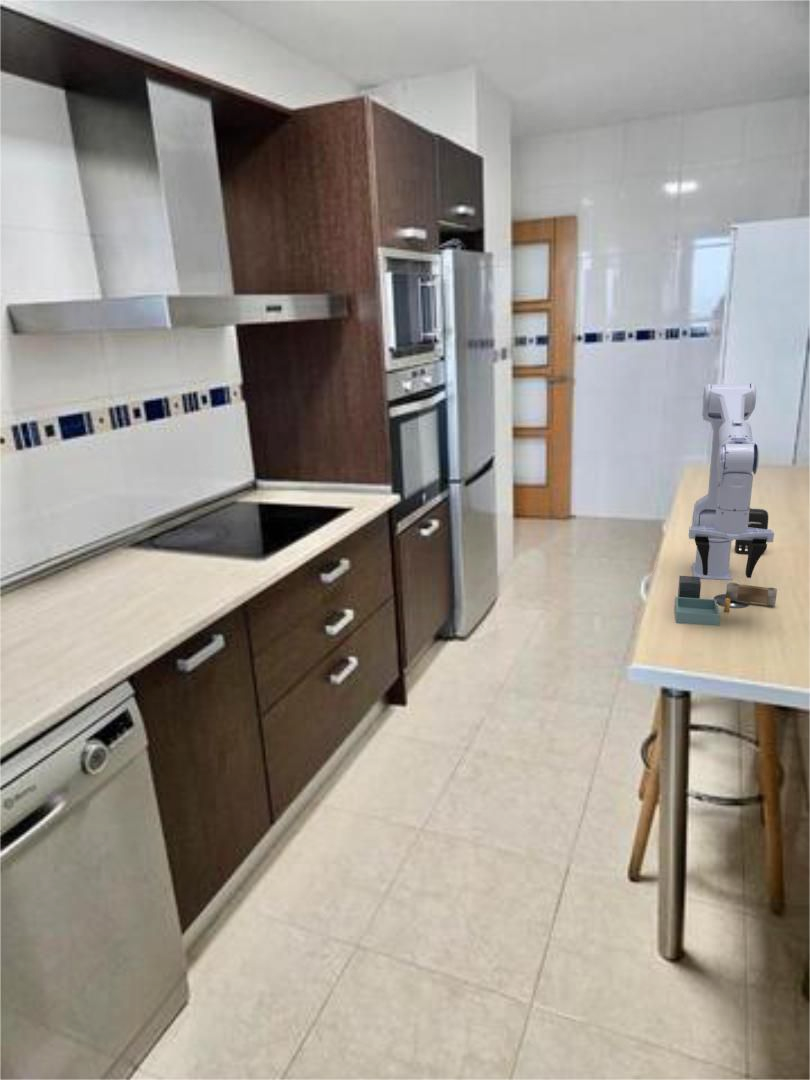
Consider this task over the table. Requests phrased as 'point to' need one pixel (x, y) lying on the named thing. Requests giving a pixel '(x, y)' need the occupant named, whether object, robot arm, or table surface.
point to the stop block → (689, 587)
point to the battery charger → (756, 520)
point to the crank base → (729, 603)
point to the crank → (751, 593)
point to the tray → (696, 611)
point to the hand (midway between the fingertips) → (726, 574)
